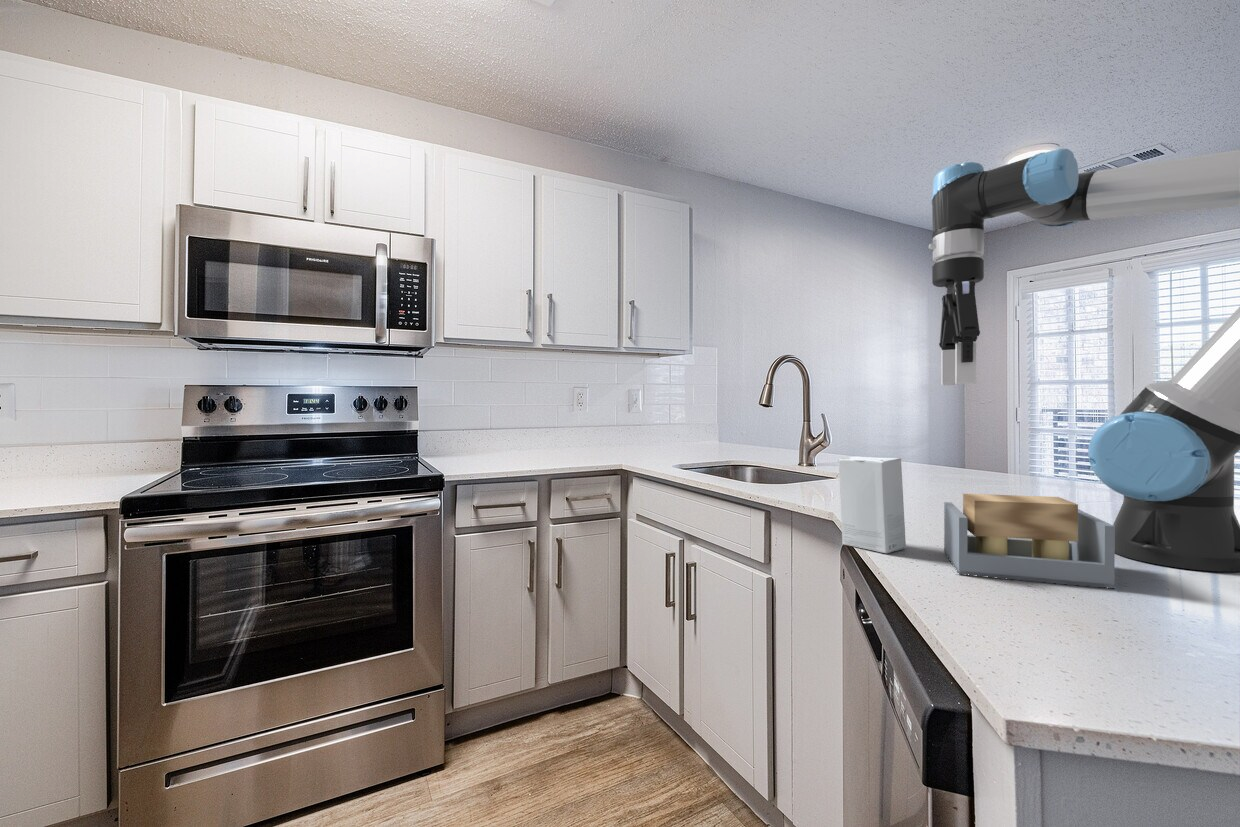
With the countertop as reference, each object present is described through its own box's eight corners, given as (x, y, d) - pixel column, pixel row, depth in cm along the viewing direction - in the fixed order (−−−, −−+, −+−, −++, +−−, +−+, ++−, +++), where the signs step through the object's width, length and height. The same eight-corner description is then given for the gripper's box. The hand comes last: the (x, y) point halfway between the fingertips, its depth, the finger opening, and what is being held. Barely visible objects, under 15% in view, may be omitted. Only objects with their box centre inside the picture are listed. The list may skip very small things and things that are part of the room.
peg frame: (1077, 562, 81) (1077, 508, 80) (1114, 589, 70) (1114, 526, 69) (944, 552, 87) (944, 502, 87) (959, 574, 76) (959, 517, 76)
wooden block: (1058, 531, 79) (1058, 496, 79) (1077, 541, 74) (1078, 504, 73) (963, 526, 83) (963, 493, 83) (974, 535, 77) (974, 500, 77)
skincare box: (906, 549, 89) (906, 458, 89) (885, 555, 86) (884, 460, 86) (859, 538, 96) (858, 454, 96) (838, 544, 93) (837, 456, 93)
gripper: (922, 277, 107) (923, 386, 107) (944, 244, 84) (944, 383, 84) (967, 273, 104) (967, 385, 105) (1003, 238, 81) (1003, 382, 81)
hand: (957, 384), depth 94 cm, fingers open, 13 cm apart
